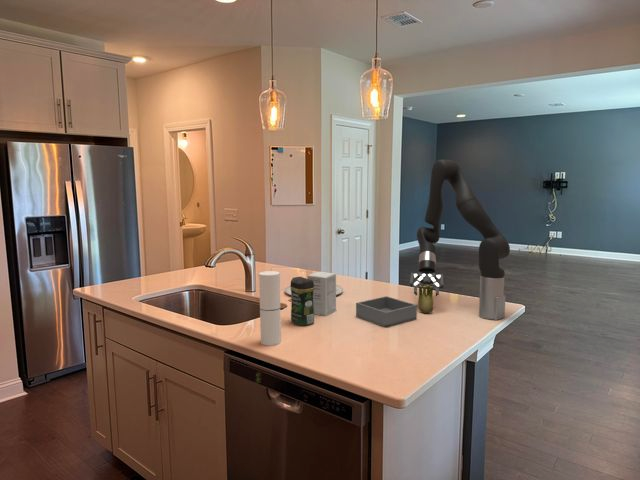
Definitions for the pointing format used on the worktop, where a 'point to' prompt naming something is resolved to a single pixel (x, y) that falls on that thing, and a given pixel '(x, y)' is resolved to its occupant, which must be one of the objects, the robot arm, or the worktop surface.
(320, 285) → the supplement box
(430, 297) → the fennel bulb
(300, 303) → the coffee jar
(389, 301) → the bin
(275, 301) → the cylindrical container
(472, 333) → the worktop surface
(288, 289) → the plated food
